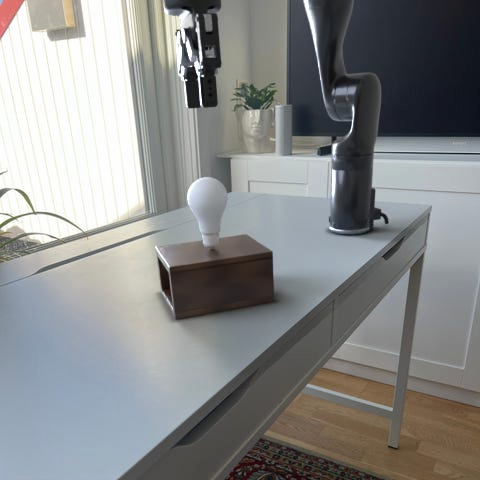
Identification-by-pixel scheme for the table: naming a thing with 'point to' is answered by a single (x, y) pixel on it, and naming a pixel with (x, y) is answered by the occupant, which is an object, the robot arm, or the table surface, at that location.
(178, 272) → the shelf
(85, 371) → the table surface
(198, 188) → the lightbulb
